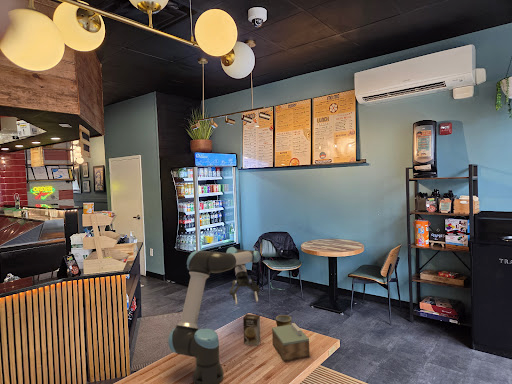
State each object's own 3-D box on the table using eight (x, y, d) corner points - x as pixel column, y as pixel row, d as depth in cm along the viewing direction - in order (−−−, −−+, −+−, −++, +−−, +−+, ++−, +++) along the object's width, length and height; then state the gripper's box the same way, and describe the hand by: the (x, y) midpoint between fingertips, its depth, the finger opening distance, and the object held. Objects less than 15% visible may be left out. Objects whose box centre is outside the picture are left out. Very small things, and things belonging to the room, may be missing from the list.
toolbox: (284, 362, 178) (283, 345, 177) (272, 344, 197) (272, 329, 197) (309, 357, 182) (309, 341, 181) (296, 340, 201) (295, 326, 201)
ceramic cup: (294, 335, 208) (294, 319, 207) (280, 338, 204) (279, 322, 204) (285, 326, 220) (284, 312, 219) (271, 329, 216) (271, 315, 216)
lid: (283, 345, 177) (283, 337, 177) (272, 329, 197) (271, 322, 197) (309, 340, 181) (308, 333, 181) (295, 325, 201) (295, 318, 200)
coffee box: (243, 344, 199) (242, 317, 198) (247, 339, 205) (246, 313, 204) (258, 345, 196) (257, 319, 196) (261, 340, 202) (260, 314, 202)
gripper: (258, 274, 230) (264, 303, 216) (222, 278, 224) (227, 307, 210) (259, 268, 225) (266, 297, 211) (223, 272, 219) (228, 302, 205)
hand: (247, 302), depth 210 cm, fingers open, 13 cm apart
